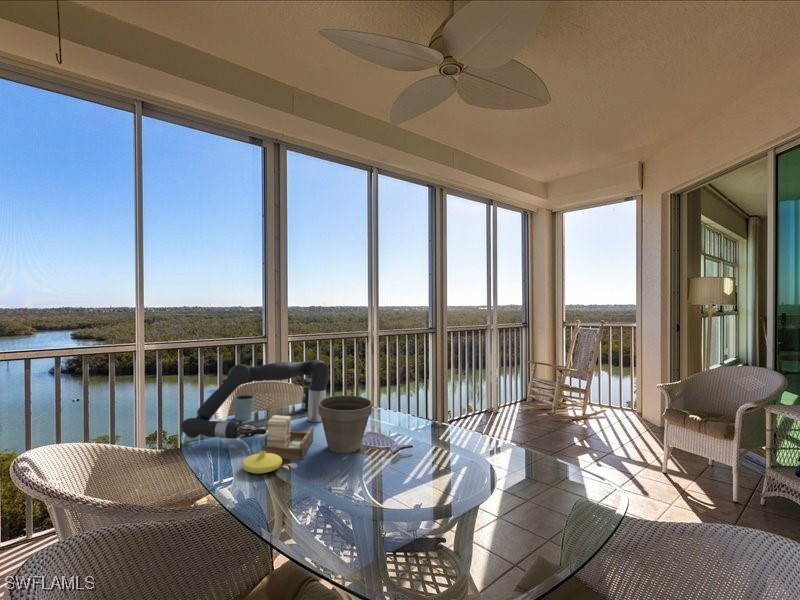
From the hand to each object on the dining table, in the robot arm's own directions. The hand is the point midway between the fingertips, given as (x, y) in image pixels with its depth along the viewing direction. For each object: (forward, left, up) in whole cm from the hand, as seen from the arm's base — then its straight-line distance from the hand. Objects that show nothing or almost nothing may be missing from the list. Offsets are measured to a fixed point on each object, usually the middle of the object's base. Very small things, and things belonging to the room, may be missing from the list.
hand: (265, 431), depth 188 cm
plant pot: (-5, +35, -8) cm, 36 cm away
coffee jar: (-62, +7, -8) cm, 63 cm away
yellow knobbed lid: (+21, +6, -8) cm, 23 cm away
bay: (0, +11, -7) cm, 13 cm away
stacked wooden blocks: (0, +6, -6) cm, 8 cm away
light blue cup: (-38, -24, -8) cm, 46 cm away
